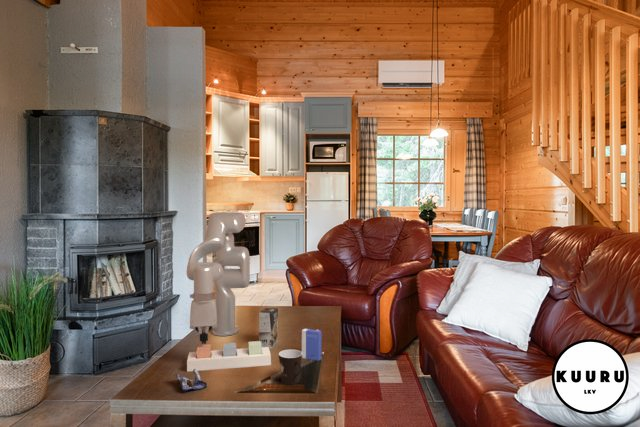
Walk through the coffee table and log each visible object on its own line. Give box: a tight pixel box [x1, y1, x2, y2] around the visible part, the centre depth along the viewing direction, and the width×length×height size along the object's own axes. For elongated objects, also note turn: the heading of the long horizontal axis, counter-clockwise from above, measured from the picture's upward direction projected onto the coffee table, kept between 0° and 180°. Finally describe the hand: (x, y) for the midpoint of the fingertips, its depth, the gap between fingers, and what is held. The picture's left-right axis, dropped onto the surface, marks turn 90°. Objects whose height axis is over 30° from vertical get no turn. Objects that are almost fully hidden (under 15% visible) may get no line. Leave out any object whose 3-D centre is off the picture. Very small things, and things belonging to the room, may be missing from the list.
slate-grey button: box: [222, 342, 237, 357], centre depth 173 cm, size 5×5×5 cm
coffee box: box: [258, 307, 279, 350], centre depth 194 cm, size 9×6×16 cm
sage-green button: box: [247, 340, 262, 355], centre depth 175 cm, size 5×5×5 cm
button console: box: [186, 347, 272, 372], centre depth 173 cm, size 32×10×4 cm, turn 102°
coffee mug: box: [278, 348, 303, 385], centre depth 155 cm, size 12×9×10 cm
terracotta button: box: [196, 343, 212, 359], centre depth 171 cm, size 5×5×5 cm
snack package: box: [174, 369, 208, 393], centre depth 152 cm, size 12×6×12 cm
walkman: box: [301, 328, 322, 361], centre depth 179 cm, size 8×3×12 cm, turn 66°
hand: (203, 342), depth 171 cm, fingers closed
